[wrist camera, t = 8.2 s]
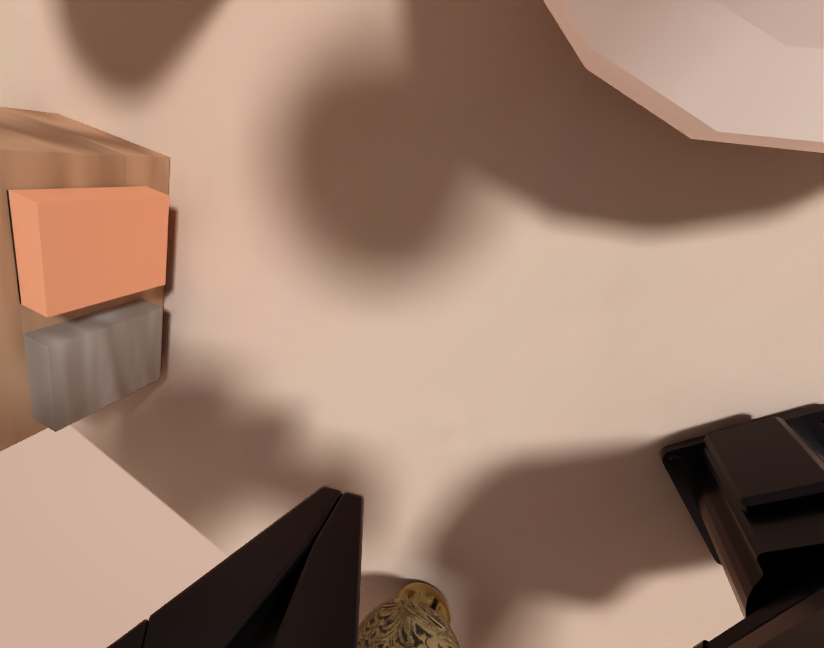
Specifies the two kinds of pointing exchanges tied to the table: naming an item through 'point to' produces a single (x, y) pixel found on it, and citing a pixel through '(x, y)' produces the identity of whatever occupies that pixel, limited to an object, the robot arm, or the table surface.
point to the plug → (87, 244)
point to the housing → (82, 328)
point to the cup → (409, 621)
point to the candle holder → (710, 64)
